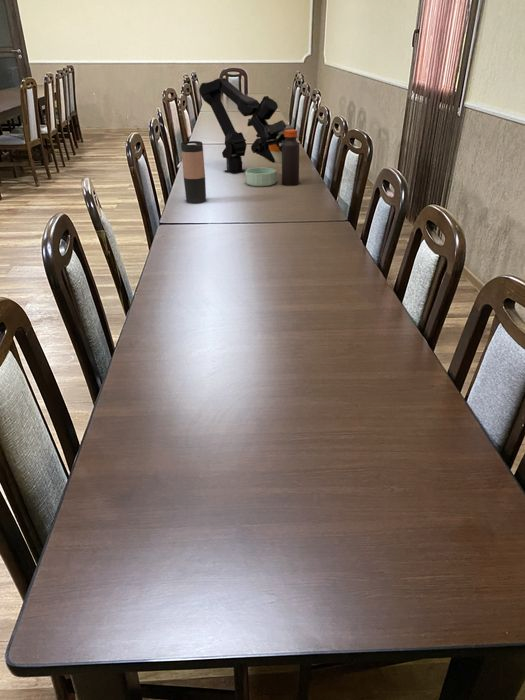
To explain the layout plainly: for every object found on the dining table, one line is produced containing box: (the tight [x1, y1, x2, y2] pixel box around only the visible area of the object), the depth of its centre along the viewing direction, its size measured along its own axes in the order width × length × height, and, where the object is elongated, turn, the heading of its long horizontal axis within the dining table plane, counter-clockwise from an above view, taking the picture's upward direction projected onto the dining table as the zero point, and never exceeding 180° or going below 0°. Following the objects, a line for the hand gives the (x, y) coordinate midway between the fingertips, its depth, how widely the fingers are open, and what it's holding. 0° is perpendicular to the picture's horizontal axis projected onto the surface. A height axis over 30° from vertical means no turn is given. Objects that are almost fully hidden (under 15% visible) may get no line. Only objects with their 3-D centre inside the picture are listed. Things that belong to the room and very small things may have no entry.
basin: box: [244, 166, 277, 188], centre depth 215 cm, size 12×12×5 cm
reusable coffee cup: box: [269, 124, 294, 163], centre depth 251 cm, size 13×13×15 cm
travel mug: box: [180, 140, 207, 204], centre depth 191 cm, size 8×8×20 cm
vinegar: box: [281, 128, 300, 186], centre depth 210 cm, size 7×7×20 cm
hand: (282, 160), depth 214 cm, fingers open, 9 cm apart
